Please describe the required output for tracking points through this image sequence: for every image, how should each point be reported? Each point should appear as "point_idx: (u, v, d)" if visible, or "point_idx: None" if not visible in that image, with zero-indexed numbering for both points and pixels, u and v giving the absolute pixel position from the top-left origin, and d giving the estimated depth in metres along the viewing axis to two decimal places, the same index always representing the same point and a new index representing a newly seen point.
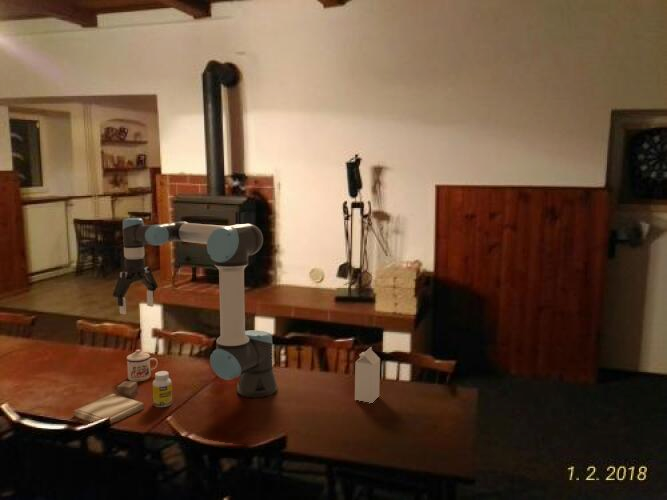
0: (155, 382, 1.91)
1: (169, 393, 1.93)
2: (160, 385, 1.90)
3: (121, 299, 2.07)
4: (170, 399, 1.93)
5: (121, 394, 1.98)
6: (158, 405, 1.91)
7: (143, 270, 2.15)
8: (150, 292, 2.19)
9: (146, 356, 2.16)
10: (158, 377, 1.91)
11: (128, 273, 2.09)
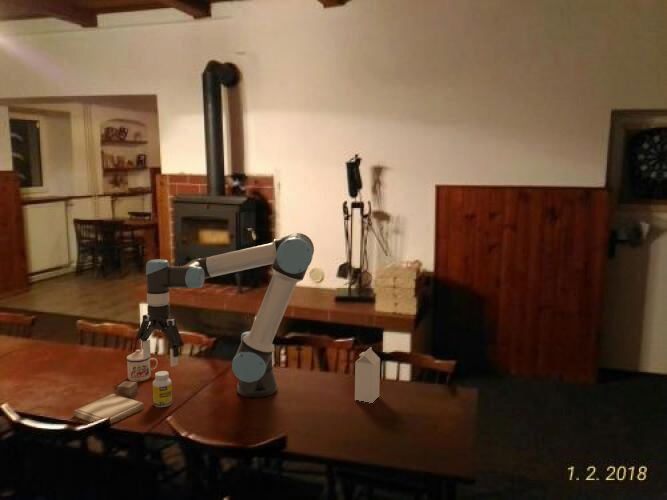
0: (155, 382, 1.91)
1: (169, 393, 1.93)
2: (160, 385, 1.90)
3: (142, 342, 1.94)
4: (170, 399, 1.93)
5: (121, 394, 1.98)
6: (158, 405, 1.91)
7: (163, 321, 1.87)
8: None
9: None
10: (158, 377, 1.91)
11: (149, 318, 1.91)
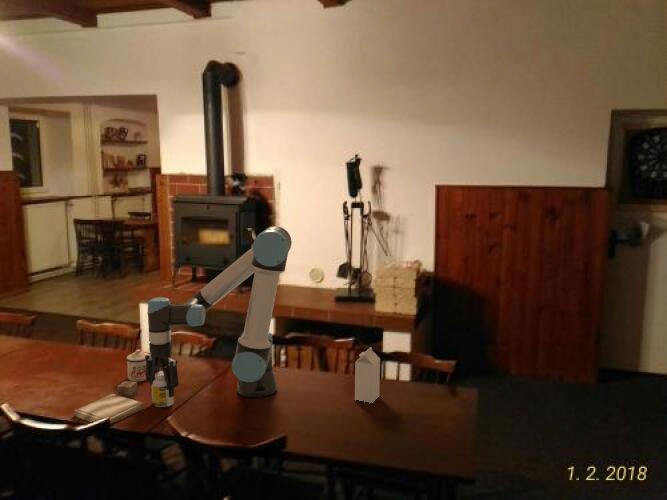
0: (155, 382, 1.91)
1: None
2: (160, 385, 1.90)
3: None
4: None
5: (121, 394, 1.98)
6: (158, 405, 1.91)
7: (165, 359, 1.89)
8: None
9: None
10: (158, 377, 1.91)
11: (151, 356, 1.93)
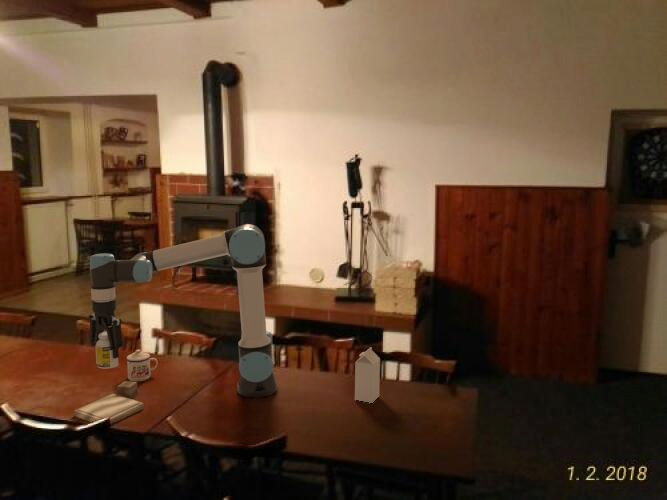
0: (98, 342, 1.82)
1: None
2: (103, 345, 1.81)
3: None
4: None
5: (121, 394, 1.98)
6: (101, 366, 1.82)
7: (108, 317, 1.80)
8: None
9: (146, 356, 2.16)
10: (101, 337, 1.82)
11: None
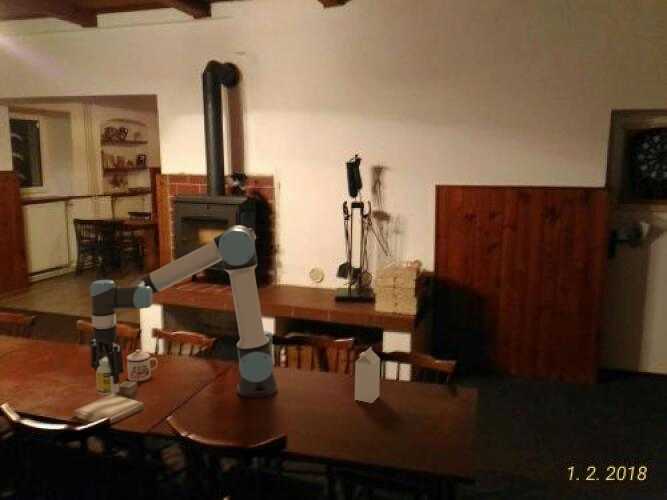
0: (99, 368, 1.83)
1: None
2: (104, 371, 1.82)
3: (96, 371, 1.87)
4: None
5: (121, 394, 1.98)
6: (102, 392, 1.83)
7: (109, 344, 1.81)
8: None
9: (146, 356, 2.16)
10: (102, 363, 1.83)
11: None
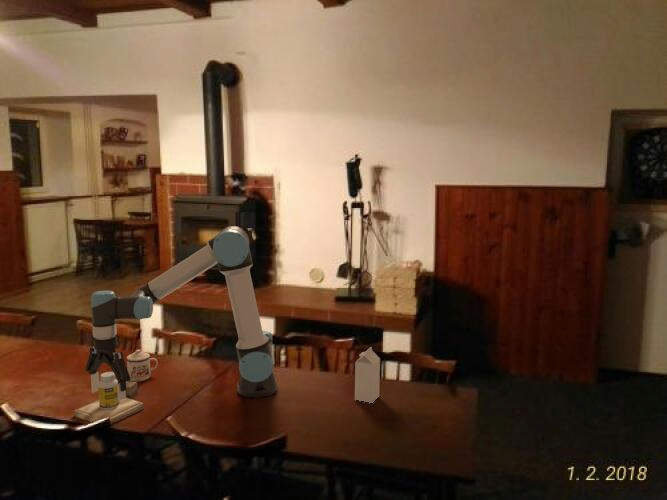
0: (100, 383, 1.84)
1: (115, 395, 1.85)
2: (105, 386, 1.83)
3: None
4: (117, 401, 1.86)
5: None
6: (104, 407, 1.84)
7: (109, 354, 1.82)
8: None
9: (146, 356, 2.16)
10: (103, 378, 1.84)
11: (96, 350, 1.86)
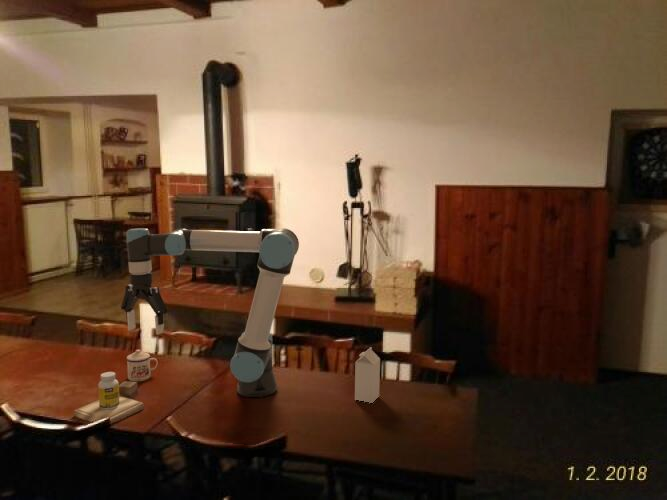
0: (100, 383, 1.84)
1: (115, 395, 1.85)
2: (105, 386, 1.83)
3: None
4: (117, 401, 1.86)
5: (121, 394, 1.98)
6: (104, 407, 1.84)
7: (146, 289, 1.87)
8: None
9: (146, 356, 2.16)
10: (103, 378, 1.84)
11: (132, 287, 1.91)
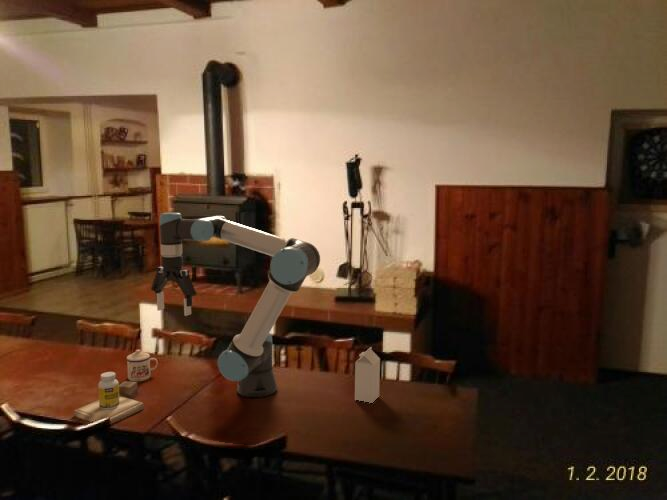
0: (100, 383, 1.84)
1: (115, 395, 1.85)
2: (105, 386, 1.83)
3: (156, 294, 2.01)
4: (117, 401, 1.86)
5: (121, 394, 1.98)
6: (104, 407, 1.84)
7: (176, 271, 1.94)
8: None
9: (146, 356, 2.16)
10: (103, 378, 1.84)
11: (162, 269, 1.97)
